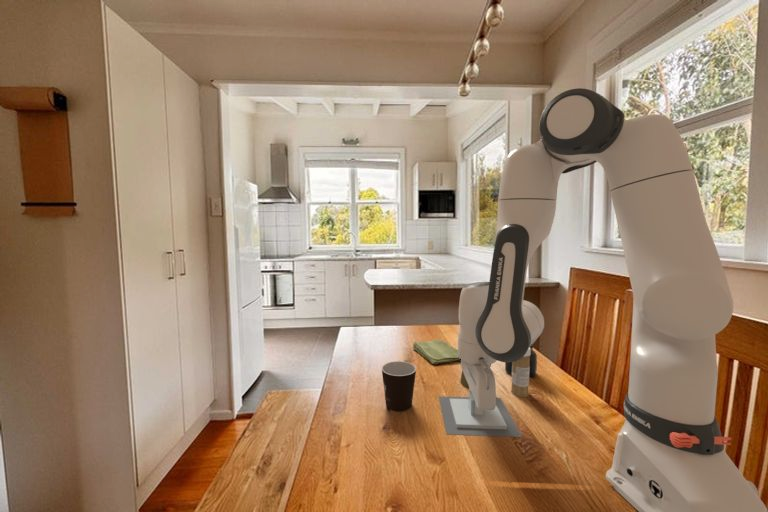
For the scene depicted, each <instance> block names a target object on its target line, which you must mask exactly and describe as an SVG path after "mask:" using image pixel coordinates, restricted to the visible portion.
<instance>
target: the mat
mask: <svg viewBox="0 0 768 512" xmlns="http://www.w3.org/2000/svg"><path fill="white" fill-rule="evenodd" d="M449 399H469V396H441V395H439V396H438V401H439V405H440V409H441V415H442V420H443V424H444V429H445V434H446V435H448V436H449V435H450V436H451V435H452V436H477V437H479V436H480V437H505V438H507V437H508V438H523V434H522V433H521V431H520V430H519V428H518V426H517V425H516V422H515V421H514V419H513V417H512V416H511V414H510V412H509V410H508V409H507V407H506V406H505V405H506V404H505V403H504V402H503V400H502V398H501V397H496V406H497V408H498V410H499V412H500V413H501V415H502V417H503V419H504V421H505V423H506V425H507V429H481V428H456V424H455V421H454V417H453V413H452V409H451V406H450V402H449Z"/></svg>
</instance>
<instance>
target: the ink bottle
mask: <svg viewBox="0 0 768 512" xmlns="http://www.w3.org/2000/svg"><path fill="white" fill-rule="evenodd" d="M530 348H531V355H530V363H529V366H530V371H529V379H532V378H534V377H536V375H537V366H538V365H537V364H538V363H537V362H538V361H537V358H538V356H537V353H536V351H535V350H534V349H533V348H534V343H533V344H532V345H531V346H530ZM504 363H505V365H504V370H505V372H506V373H507V374H508V375H510V376H512V362H504Z"/></svg>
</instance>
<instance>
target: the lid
mask: <svg viewBox="0 0 768 512" xmlns="http://www.w3.org/2000/svg"><path fill="white" fill-rule="evenodd" d="M468 397H469V399H449V402H450V406H451V409H452V413H453V417H454V421H455V424H456V428H481V429H507V425H506V423H505V421H504V419H503V417H502V415H501V413H500V412H499V410H498V408H497V406H496V407H495V409H494V410H483V414H482V415H477V414H476V413H475V410H474V404H475V400H474V397H473V395H472V394H470V393H468Z"/></svg>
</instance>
